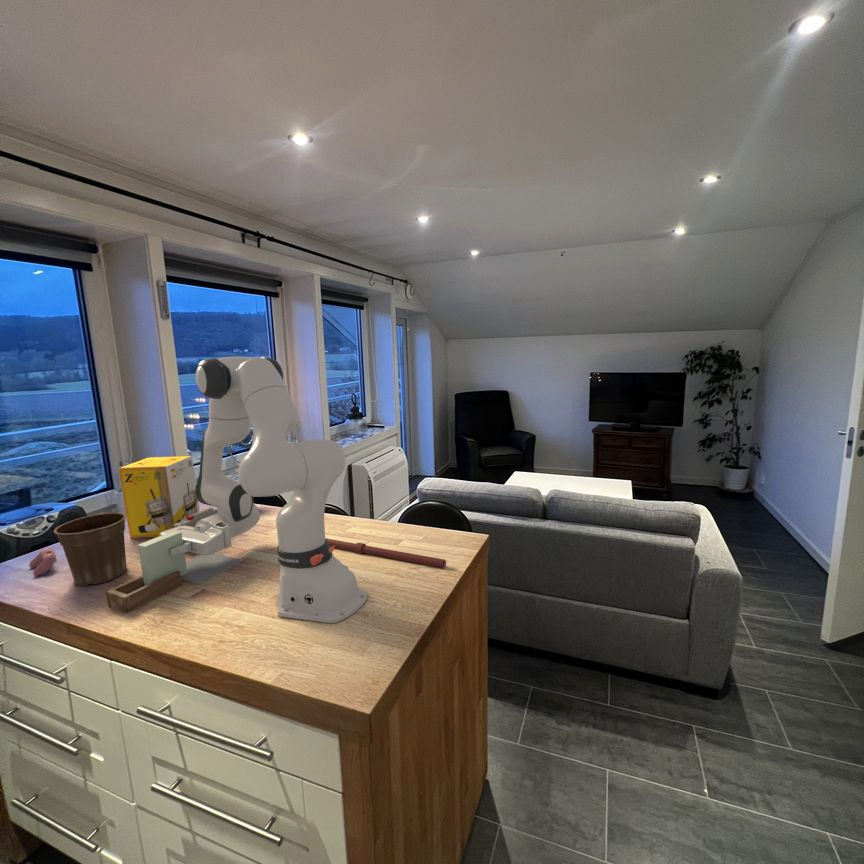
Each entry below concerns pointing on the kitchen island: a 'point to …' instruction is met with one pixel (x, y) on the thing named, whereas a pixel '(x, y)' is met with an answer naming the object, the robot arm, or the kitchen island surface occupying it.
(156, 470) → the packaging box
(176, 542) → the cover plate
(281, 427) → the robot arm
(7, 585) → the kitchen island surface
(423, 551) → the kitchen island surface
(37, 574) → the pink lobed lump
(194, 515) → the cassette player
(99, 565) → the plant pot
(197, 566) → the grey rubber mat
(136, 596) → the walnut box
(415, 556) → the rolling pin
